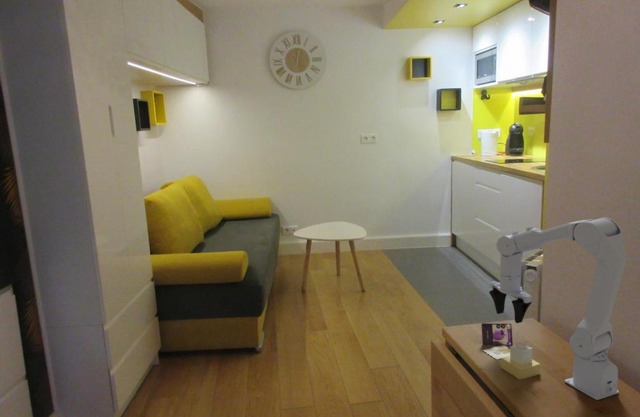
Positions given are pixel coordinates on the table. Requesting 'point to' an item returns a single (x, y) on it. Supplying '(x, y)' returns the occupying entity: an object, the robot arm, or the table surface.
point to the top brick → (521, 354)
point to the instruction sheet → (498, 352)
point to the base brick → (520, 368)
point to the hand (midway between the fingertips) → (509, 317)
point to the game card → (496, 334)
